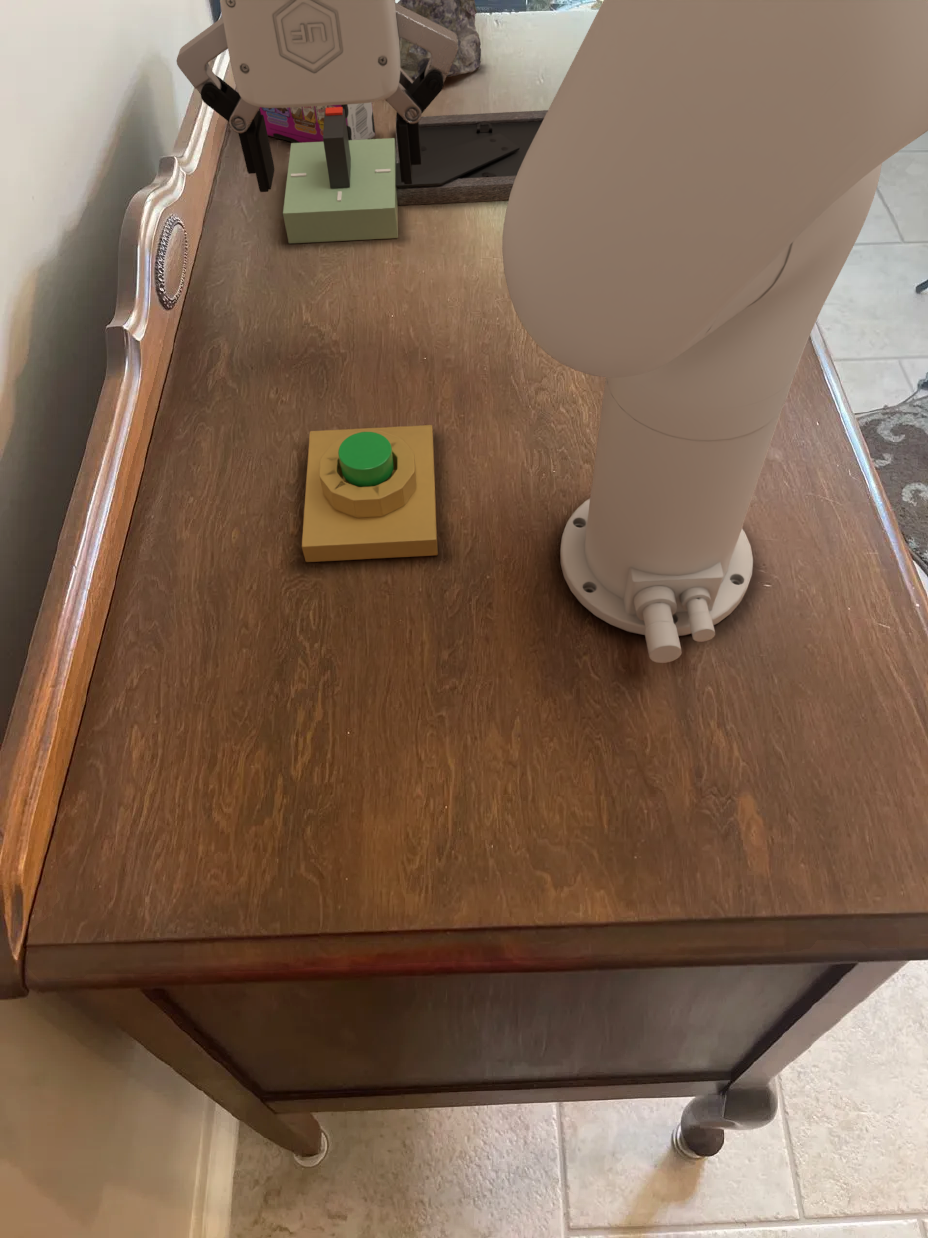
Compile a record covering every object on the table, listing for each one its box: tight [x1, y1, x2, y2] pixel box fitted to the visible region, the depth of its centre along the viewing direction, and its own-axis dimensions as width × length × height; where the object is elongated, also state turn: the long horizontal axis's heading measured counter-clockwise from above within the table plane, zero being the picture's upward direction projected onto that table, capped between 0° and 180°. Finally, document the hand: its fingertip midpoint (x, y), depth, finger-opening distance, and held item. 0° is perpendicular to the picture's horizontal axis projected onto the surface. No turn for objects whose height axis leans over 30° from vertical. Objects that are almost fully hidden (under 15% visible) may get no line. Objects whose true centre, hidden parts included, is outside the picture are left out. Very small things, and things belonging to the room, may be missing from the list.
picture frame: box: [395, 109, 548, 206], centre depth 90 cm, size 13×2×18 cm
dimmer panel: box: [282, 137, 399, 244], centre depth 86 cm, size 12×10×3 cm
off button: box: [338, 432, 394, 487], centre depth 62 cm, size 4×4×2 cm
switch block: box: [301, 424, 439, 563], centre depth 64 cm, size 11×9×4 cm
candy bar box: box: [259, 102, 376, 143], centre depth 88 cm, size 11×5×16 cm, turn 62°
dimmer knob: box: [323, 107, 351, 188], centre depth 83 cm, size 5×2×5 cm, turn 3°
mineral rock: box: [396, 0, 482, 82], centre depth 98 cm, size 13×11×10 cm
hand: (337, 177), depth 63 cm, fingers open, 9 cm apart
